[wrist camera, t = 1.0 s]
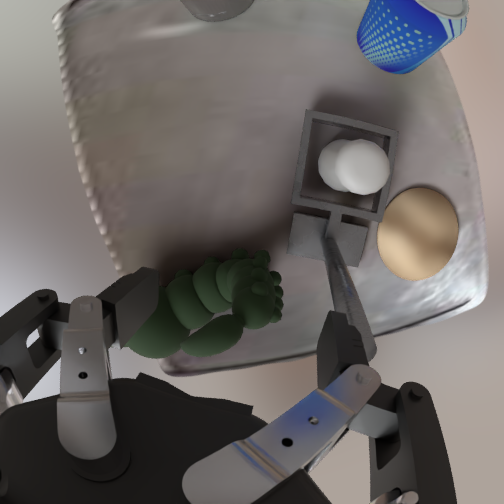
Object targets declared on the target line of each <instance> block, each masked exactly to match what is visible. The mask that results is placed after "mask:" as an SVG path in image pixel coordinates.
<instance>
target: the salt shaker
mask: <svg viewBox="0 0 504 504" xmlns="http://www.w3.org/2000/svg"><path fill="white" fill-rule="evenodd" d="M318 166H319V173H320V175H321V177H322V178H323V180H324V182H325V183H326V184H327V185H329V186H330V187H331V188H333V189H334V190H338V191H343V192H348V191H351V192H352V193H357V194H361V195H366V194H370V193H375V192H377V191H378V190H379V189H380V188H382V187H383V186H384V185H385V184H386V181H387V179H388V177H389V174H390V166H389V160H388V158H387V156H386V154H385V152H384V150H383V149H382V148H380V147H379V146H378V145H377V144H375V143H374V142H371V141H367V140H364V139H358V140H354V141H350V140H346V139H340V140H336V141H332V142H330V143H329V144H328V145H327V146H325V147H324V148H323V149H322V152H321V154H320V157H319V159H318Z"/></svg>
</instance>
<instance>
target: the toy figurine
mask: <svg viewBox="0 0 504 504" xmlns="http://www.w3.org/2000/svg"><path fill="white" fill-rule="evenodd" d="M231 258H232V259H231V260H227V261H225V262H224V263H220V262H219V260H218V258H216V257H208V258H207V259H206V260H205V262H204V265H203V266H201V267H200V268H199V269H198V270H197V271H196V272H195V273H194V275H192V273H191V272H190V271H188V270H186V269H183V270H179V271H178V272H177V273H176V274H175V278H174V280H173V281H171V282H170V283H169V285H168V286H167V287H162V286H159V299H158V305H157V308H156V310H155V311H154V312H153V314H152V315H151V316H150V317H149V318H148V319H147V320H146V321H145V323H144V324H143V325H142V326H141V327H140V328H139V329H138V330H137V332H136V333H135V334H134V335H133V336H132V337H131V338H130V340H129V341H128V342H127V343H126V344H125V345H124V346H123V347H129V348H130V349H131V350H133V351H134V352H136V353H137V354H139V355H141V356H144V357H148V358H155V359H157V358H165V357H168V356H170V355H172V354H174V353H176V352H177V351H178V350H180V349H182V350H183V351H184V352H185V353H187V354H189V355H191V356H196V357H207V356H212V355H216V354H219V353H221V352H224V351H226V350H228V349H229V348H231V347H232V346H234V345H235V344H236V343H237V342H238V341H239V339H240V338H241V336H242V333H243V327H245V328H248V329H259V328H262V327H264V326H266V325H267V324H268V323H269V322H271V323H276V322H278V321H279V320H281V317H282V313H281V310H282V308H283V305H284V304H283V301H282V299H281V298H282V296H283V290H282V288H281V287H280V286H279V284H280V283H281V280H282V279H281V275H280V274H279V273H278V272H276V271H271V272H269V270H268V269H267V266H268V263H269V262H270V256H269V253H268V252H267V251H265V250H260V251H257V252H256V253H255V254H254V259H250V258H249V255H248V253H247V251H246V250H244V249H242V248H240V249H236V250H235V251H233V253H232V256H231ZM231 307H232V313H233V315H231V314H227V315H222V316H219V317H217V318H215V319H213V320H211V319H212V317H213V315H214V313H220V312H224V311H226V310H228V309H230V308H231ZM210 320H211V321H210ZM209 321H210V322H209ZM205 324H206V325H205ZM204 325H205V326H204ZM202 326H203V327H202ZM200 327H202V328H200ZM197 328H200V329H199V330H198V331H196V332H195V333H193V334H191V335H190V336H189V334H190V330H191V329H197ZM188 336H189V337H188ZM111 347H112V346H111Z"/></svg>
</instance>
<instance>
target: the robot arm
mask: <svg viewBox="0 0 504 504" xmlns="http://www.w3.org/2000/svg"><path fill="white" fill-rule="evenodd" d="M180 1H181V2H182V3H183V4H184V5H185V6H186V8H187V9H188V10H189V11H190V12H191V13H192V14H193V15H194V16H195V17H196V18H199V19H201V20H205V21H214V22H215V21H223V20H227V19H230V18H233V17H235V16H237V15H239V14H241V13H242V12H244V11H245V10H246V9H247V8H248V7H249V6H250V5H251V4H252V2H253V0H180ZM158 299H159V272H158V271H157V270H155V269H151V268H147V267H141V268H140V269H139V270H137V271H136V272H135V273H133V274H132V273H131V274H128V275H125V276H123V277H121V278H120V279H119V280H117V281H116V282H114V283H113V284H112V285H111V286H109V287H108V288H107V289H105V290H104V291H103V292H101V293H100V294H99V295H97V296H96V297H94V296H81V297H78V298H76V299H74V300H73V301H72V302H71V304H68V303H62V302H58V297H57V294H56V292H55V291H53V290H50V289H42V290H38V291H36V292H34V293H32V294H31V295H30V296H28V297H27V298H26V299H24V300H23V301H22V302H20V303H19V304H17V305H16V306H14V307H13V308H12V309H10V310H9V311H8V312H7V313H5V314H4V315H3V316H1V317H0V504H332V503H331V502H330V501H329V500H328V498H327V497H326V496H325V495H324V493H323V492H322V491H321V490H320V489H319V487H318V486H317V485H316V483H315V482H314V481H313V480H312V478H311V477H310V476H309V473H310V472H311V471H312V470H313V469H314V468H315V467H316V466H317V465H318V464H319V462H320V461H321V460H322V459H323V458H324V457H325V456H326V455H327V454H328V453H329V452H330V451H331V450H332V449H333V448H334V447H335V446H336V445H337V444H338V443H339V442H340V441H341V440H342V439H343V437H344V436H345V435H346V434H347V433H348V432H349V431H350V430H353V431H356V432H359V433H361V434H364V435H367V436H369V451H370V480H371V481H370V484H371V485H370V486H371V487H370V501H371V502H370V503H369V504H457V499H456V493H455V488H454V482H453V477H452V472H451V467H450V463H449V458H448V454H447V450H446V446H445V442H444V438H443V434H442V431H441V427H440V424H439V420H438V417H437V414H436V410H435V407H434V404H433V401H432V398H431V395H430V393H429V391H428V390H427V389H426V388H425V387H424V386H423V385H420V384H418V383H416V382H406V383H404V384H403V385H402V386H401V388H400V389H396V388H393V387H390V386H387V385H384V384H382V383H381V377H380V375H379V374H378V372H376V371H375V370H374V369H373V368H371V367H369V364H368V360H367V356H366V352H365V348H364V344H363V342H362V337H361V333H360V332H359V331H358V330H357V328H356V327H355V326H352V325H349V324H348V320H347V316H346V313H341V312H336V311H331V310H330V311H329V312H328V315H327V317H326V320H325V323H324V326H323V329H322V332H321V334H320V337H319V340H318V345H317V375H318V388H317V389H315V390H314V391H313V392H311V393H310V394H309V395H308V396H307V397H305V398H304V399H302V400H301V401H300V402H299V403H297V404H296V405H295V406H293V407H292V408H291V409H289V410H288V411H286V412H285V413H284V414H282V415H281V416H280V417H278V418H277V419H275V420H274V421H273V422H271V423H270V424H268V423H266V422H265V421H264V420H262V419H260V418H258V417H256V416H254V415H252V409H253V406H250V405H246V404H242V403H238V402H233V401H230V400H225V399H216V398H204V397H194V396H190V395H188V394H187V393H185V392H183V391H181V390H180V389H178V388H176V387H174V386H173V385H171V384H169V383H168V382H166V381H163V380H160V379H157V378H154V377H152V376H149V375H146V374H144V373H139V375H138V376H137V378H136V379H130V378H117V379H112V373H111V366H110V358H109V351H108V349H109V348H110V347H111V346H112V347H115V348H117V349H119V350H121V349H122V348H123V346H124V345H125V344H126V343H127V342H128V341H129V340H130V338H131V337H132V336H133V335H134V334H135V333H136V332H137V330H138V329H139V328H140V327H141V326H142V325H143V324H144V323H145V321H146V320H147V319H148V318H149V317H150V316H151V315H152V314H153V312H154V311H155V310H156V308H157V305H158ZM36 329H38V333H39V336H40V337H39V338H38V339H37V340H36V341H35V342H34V343H33V344H32V345H31V346H30V347H28V348H27V345H26V341H27V338H28V336H29V335H30V334H31V333H32V332H33V331H34V330H36ZM60 357H61V371H60V373H61V374H60V394H58V395H54V396H50V397H46V398H42V399H38V400H34V401H30V402H25V403H23V399H24V398H25V397H26V396H27V395H28V393H29V392H30V391H31V390H32V389H33V388H34V387H35V385H36V384H37V383H38V382H39V380H41V378H42V377H43V376H44V375H45V374H46V373H47V372H48V371H49V369H50V368H51V367H52V366H53V365H54V364H55V363H56V362H57V361H58V360H59V359H60Z"/></svg>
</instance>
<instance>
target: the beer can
mask: <svg viewBox="0 0 504 504" xmlns="http://www.w3.org/2000/svg"><path fill="white" fill-rule="evenodd" d="M468 11H469V4H468V0H370V2H369V4H368V7H367V9H366V12H365V14H364V16H363V19H362V21H361V23H360V26H359V28H358V31H357V42H358V45H359V48H360V50H361V51H362V53H363V54H364V56H365V57H366V58H367V59H368V60H369V61H370V62H371V63H372V64H374V65H375V66H376V67H378V68H380V69H382V70H384V71H386V72H390V73H394V74H405V73H408V72H411V71H413V70H414V69H415V68H417V67H418V66H419V65H421V64H422V63H423V62H424V61H426V60H427V59H428V58H430V57H431V56H432V55H434V54H435V53H436V52H438V51H439V50H440V49H442V48H443V47H444V46H446V45H447V44H448V43H450V42H451V41H452V40H454V39H455V38H457V37H458V36H459V35H461V34H462V33H463V31H464V30H465V27H466V23H467V18H466V15H467V14H468Z"/></svg>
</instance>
